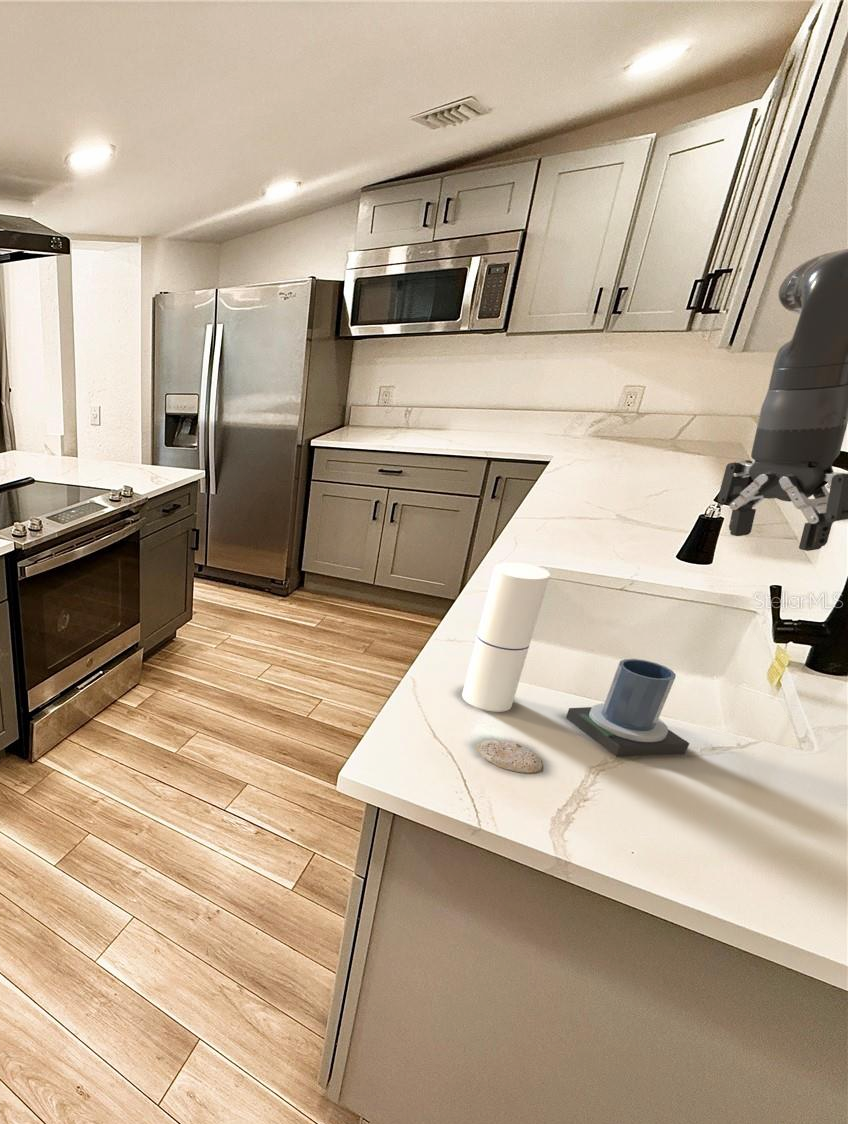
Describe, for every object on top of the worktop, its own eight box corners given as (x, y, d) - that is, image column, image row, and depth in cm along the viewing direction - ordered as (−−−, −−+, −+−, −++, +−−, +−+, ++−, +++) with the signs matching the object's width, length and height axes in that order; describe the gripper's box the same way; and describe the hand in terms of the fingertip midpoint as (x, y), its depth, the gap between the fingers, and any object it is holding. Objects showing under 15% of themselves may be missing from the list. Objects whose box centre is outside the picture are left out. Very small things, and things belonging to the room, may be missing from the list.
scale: (626, 718, 101) (634, 700, 99) (683, 757, 91) (692, 737, 90) (564, 721, 101) (570, 702, 100) (614, 760, 92) (622, 740, 90)
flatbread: (539, 752, 94) (541, 747, 94) (543, 782, 88) (545, 776, 88) (476, 737, 98) (477, 732, 98) (476, 764, 93) (477, 759, 92)
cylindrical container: (455, 703, 107) (488, 571, 97) (469, 687, 111) (501, 559, 101) (503, 719, 102) (543, 582, 92) (516, 702, 106) (555, 569, 96)
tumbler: (631, 706, 98) (650, 657, 94) (666, 730, 92) (687, 679, 88) (591, 708, 98) (608, 659, 94) (623, 731, 92) (643, 681, 89)
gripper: (904, 420, 72) (866, 550, 78) (769, 415, 86) (745, 526, 91) (838, 430, 73) (805, 559, 78) (714, 423, 86) (693, 534, 91)
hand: (773, 541), depth 85 cm, fingers open, 8 cm apart
